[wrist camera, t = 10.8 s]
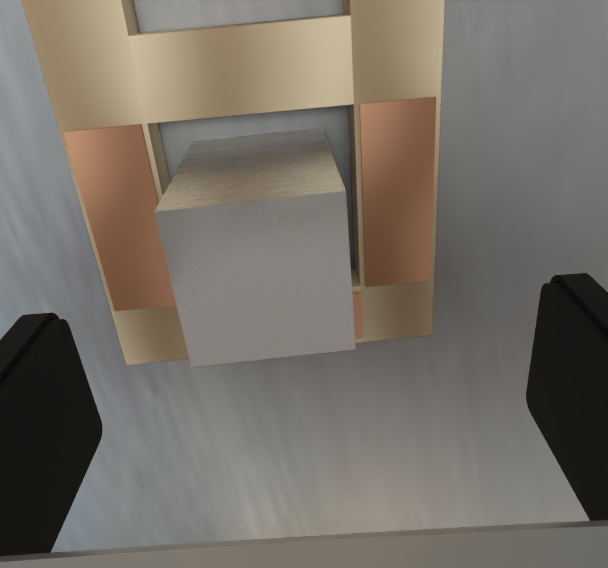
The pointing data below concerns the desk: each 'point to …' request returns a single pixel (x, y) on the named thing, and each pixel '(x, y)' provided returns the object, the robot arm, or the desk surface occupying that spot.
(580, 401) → the robot arm
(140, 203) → the hole rail
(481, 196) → the desk surface
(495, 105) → the desk surface
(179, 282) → the steel block
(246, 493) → the desk surface
